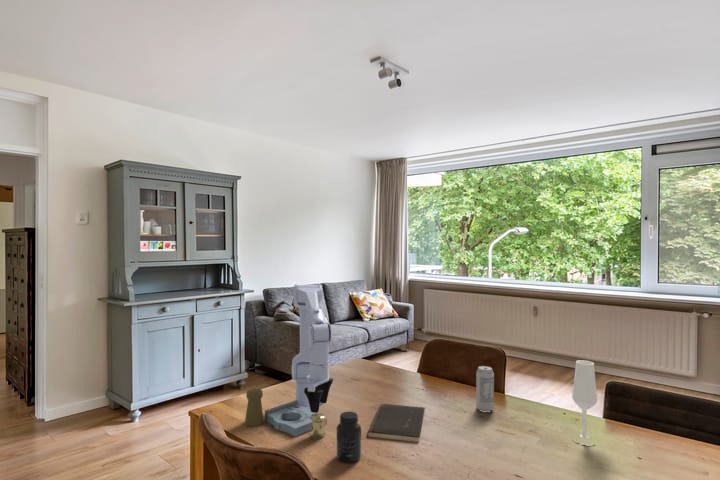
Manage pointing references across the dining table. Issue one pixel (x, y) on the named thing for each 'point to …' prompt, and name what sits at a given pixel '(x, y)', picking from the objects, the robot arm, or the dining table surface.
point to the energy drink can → (485, 388)
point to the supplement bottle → (348, 438)
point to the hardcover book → (397, 422)
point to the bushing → (318, 425)
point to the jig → (290, 418)
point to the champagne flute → (584, 389)
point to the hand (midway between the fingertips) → (318, 407)
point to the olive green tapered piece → (254, 407)
